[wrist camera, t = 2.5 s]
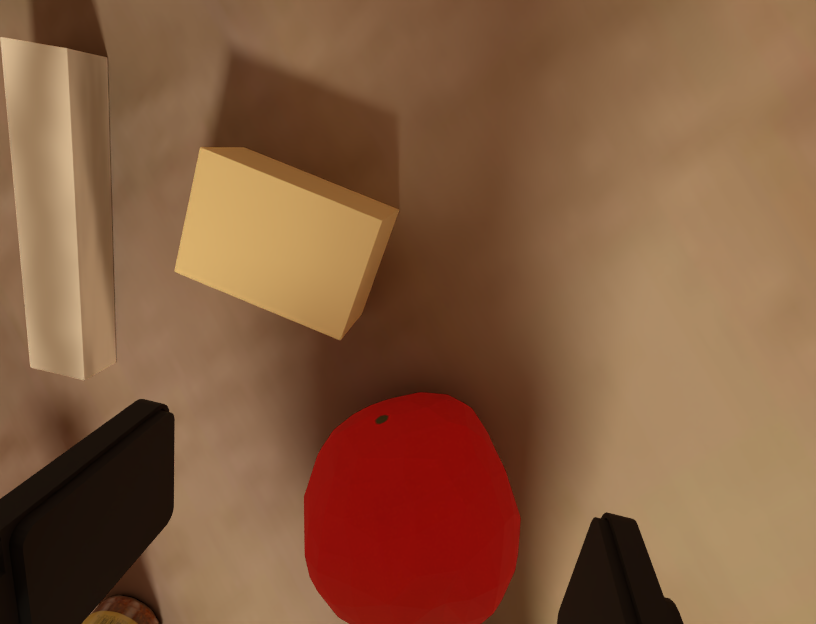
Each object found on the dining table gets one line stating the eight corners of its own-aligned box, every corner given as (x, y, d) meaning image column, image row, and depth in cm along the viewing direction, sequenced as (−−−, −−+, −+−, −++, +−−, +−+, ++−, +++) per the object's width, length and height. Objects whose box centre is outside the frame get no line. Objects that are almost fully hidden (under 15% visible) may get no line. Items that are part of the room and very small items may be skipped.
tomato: (395, 352, 36) (416, 506, 40) (233, 435, 28) (280, 621, 32) (562, 395, 28) (566, 586, 32) (402, 536, 19) (437, 771, 23)
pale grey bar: (107, 57, 30) (66, 48, 27) (116, 362, 37) (84, 380, 34) (46, 46, 30) (0, 36, 28) (65, 350, 37) (30, 367, 34)
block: (400, 209, 30) (382, 220, 25) (363, 312, 33) (340, 340, 28) (245, 147, 31) (200, 147, 26) (220, 253, 33) (174, 271, 28)
